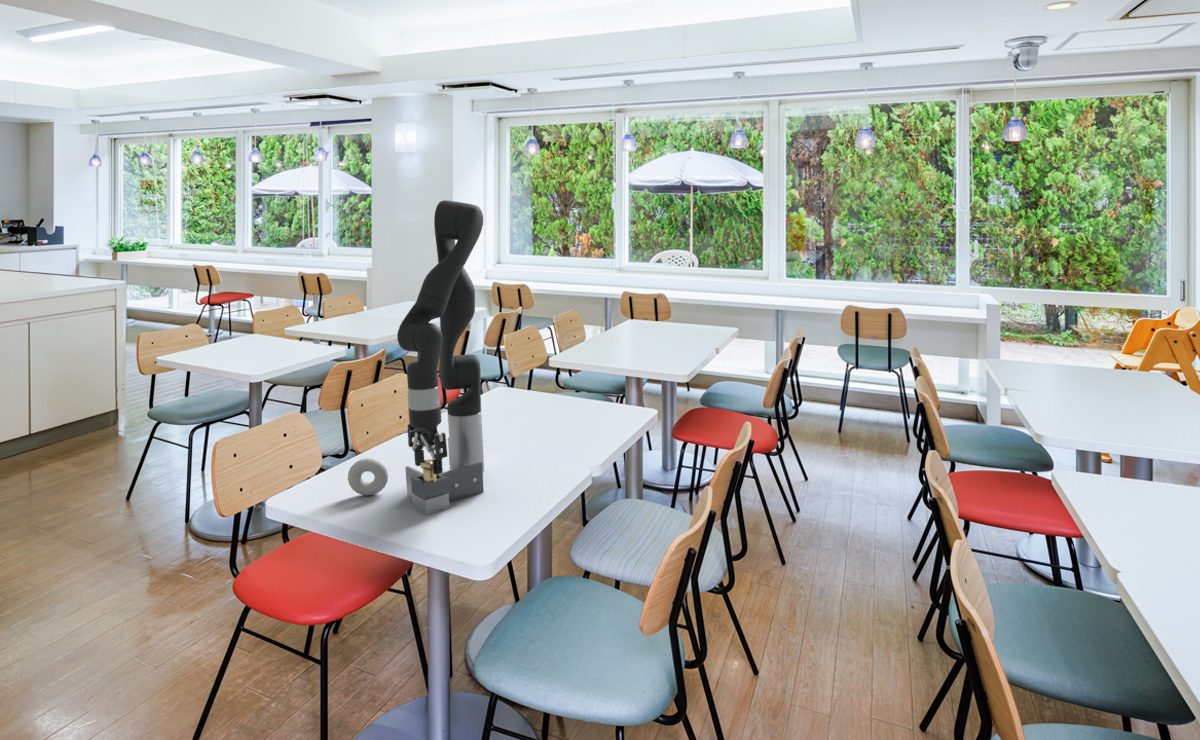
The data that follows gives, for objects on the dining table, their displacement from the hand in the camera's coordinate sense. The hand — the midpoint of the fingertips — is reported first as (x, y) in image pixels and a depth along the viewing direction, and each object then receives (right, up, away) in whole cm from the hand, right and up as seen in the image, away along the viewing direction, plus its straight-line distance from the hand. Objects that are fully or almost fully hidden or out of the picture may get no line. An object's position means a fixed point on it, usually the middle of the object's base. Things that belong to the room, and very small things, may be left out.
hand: (428, 469), depth 175 cm
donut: (-18, -8, +11) cm, 23 cm away
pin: (0, -10, +2) cm, 10 cm away
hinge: (+2, -8, +9) cm, 12 cm away
